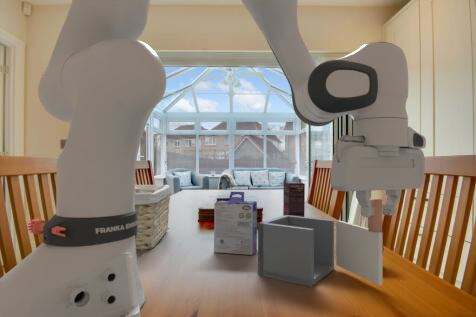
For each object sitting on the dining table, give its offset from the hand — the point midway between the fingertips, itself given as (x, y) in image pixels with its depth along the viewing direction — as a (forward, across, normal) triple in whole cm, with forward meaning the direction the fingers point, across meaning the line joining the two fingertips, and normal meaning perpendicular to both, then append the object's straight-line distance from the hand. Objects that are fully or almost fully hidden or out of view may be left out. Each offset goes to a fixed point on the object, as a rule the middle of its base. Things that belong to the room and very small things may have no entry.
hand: (378, 215), depth 58 cm
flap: (+12, 0, +4) cm, 12 cm away
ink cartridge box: (+13, -12, +32) cm, 36 cm away
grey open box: (+13, -8, +13) cm, 20 cm away
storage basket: (+14, -31, +55) cm, 65 cm away
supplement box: (+13, +12, +39) cm, 43 cm away
